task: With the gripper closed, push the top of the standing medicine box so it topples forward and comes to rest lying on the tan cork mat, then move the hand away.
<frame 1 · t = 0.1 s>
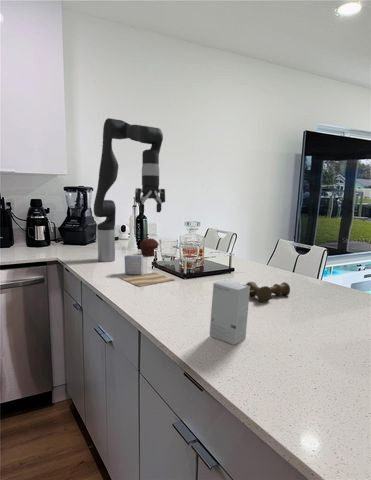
hand: (150, 212, 145), 29 cm above the worktop, tool pointing down, fingers open, 8 cm apart
muffin: (149, 255, 201), on the worktop
skincare box: (228, 338, 88), on the worktop
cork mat: (147, 279, 145), on the worktop
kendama: (265, 298, 123), on the worktop
medicine box: (134, 274, 154), on the worktop, touching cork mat
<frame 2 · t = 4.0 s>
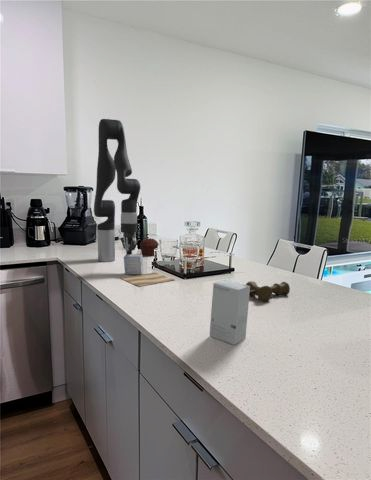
hand: (129, 258, 156), 7 cm above the worktop, tool pointing down, fingers closed
nothing on the worktop moved.
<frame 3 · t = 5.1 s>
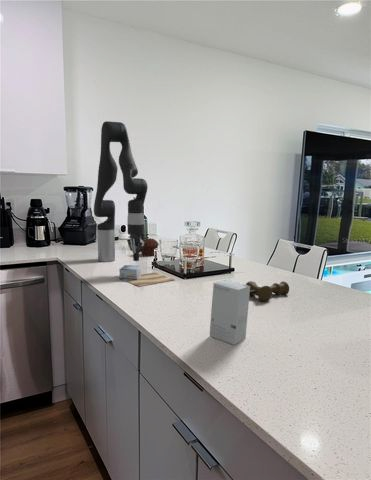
hand: (136, 260, 151), 7 cm above the worktop, tool pointing down, fingers closed
medicine box: (133, 269, 152), point 2 cm above the worktop, touching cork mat
everything else where it was.
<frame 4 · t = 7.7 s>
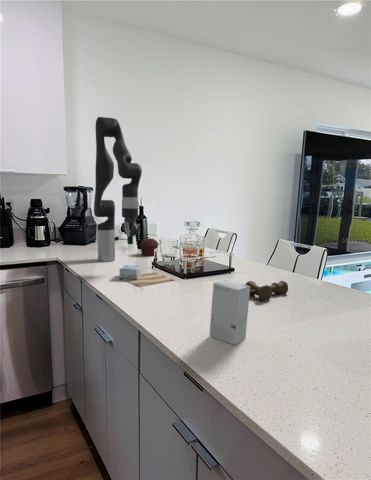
hand: (130, 244, 155), 14 cm above the worktop, tool pointing down, fingers closed
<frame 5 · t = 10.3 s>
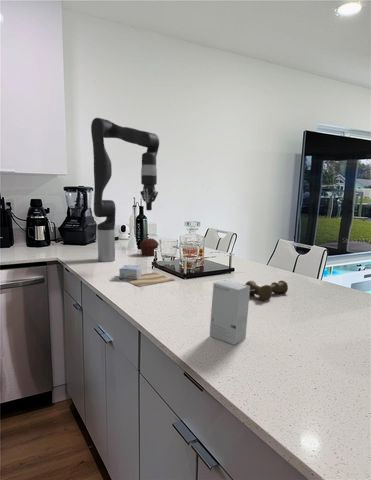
hand: (148, 210, 164), 29 cm above the worktop, tool pointing down, fingers closed
at the end: medicine box tilted 89°; medicine box inside the target area on the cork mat (6.7 cm from its centre), point 2.4 cm above the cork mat's base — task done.
